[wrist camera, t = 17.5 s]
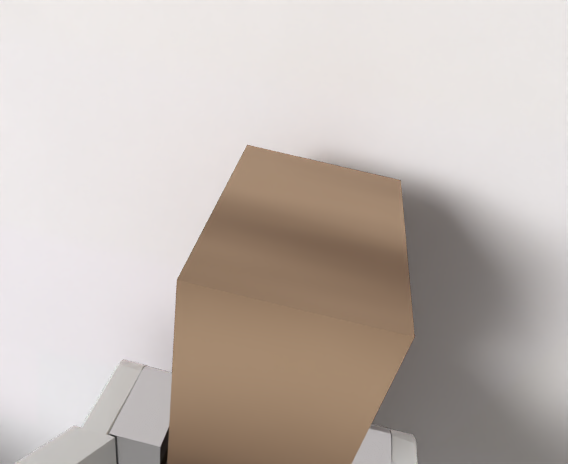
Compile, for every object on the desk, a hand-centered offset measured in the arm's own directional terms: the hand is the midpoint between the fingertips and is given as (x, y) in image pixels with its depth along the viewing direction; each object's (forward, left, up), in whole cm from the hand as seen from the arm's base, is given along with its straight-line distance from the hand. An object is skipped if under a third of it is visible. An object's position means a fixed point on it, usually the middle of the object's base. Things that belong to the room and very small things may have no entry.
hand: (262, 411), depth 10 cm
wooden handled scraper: (0, +3, -2) cm, 4 cm away
